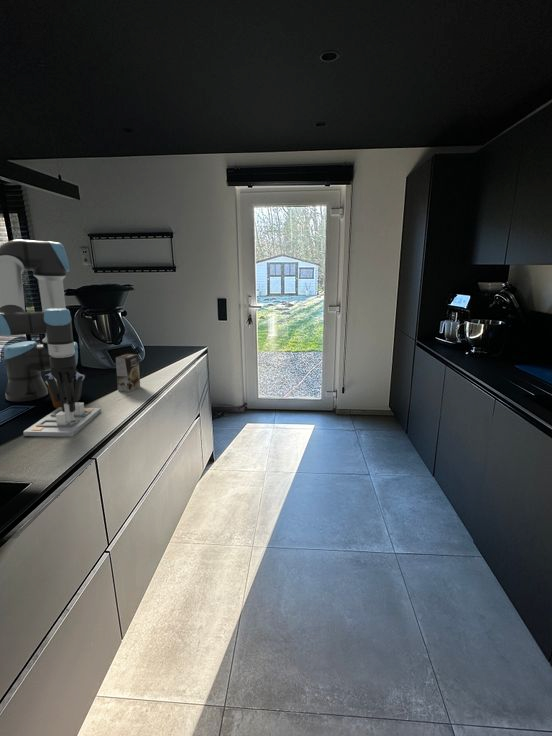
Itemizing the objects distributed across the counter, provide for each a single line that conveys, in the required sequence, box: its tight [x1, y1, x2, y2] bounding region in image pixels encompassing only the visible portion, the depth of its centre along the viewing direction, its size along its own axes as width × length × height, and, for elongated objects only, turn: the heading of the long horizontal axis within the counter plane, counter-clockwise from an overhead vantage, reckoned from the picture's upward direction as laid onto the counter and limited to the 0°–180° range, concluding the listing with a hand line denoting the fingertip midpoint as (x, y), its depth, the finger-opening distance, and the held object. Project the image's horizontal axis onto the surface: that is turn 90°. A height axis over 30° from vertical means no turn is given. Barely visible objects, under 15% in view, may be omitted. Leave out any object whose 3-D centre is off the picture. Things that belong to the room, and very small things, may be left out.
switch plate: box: [22, 407, 102, 438], centre depth 130 cm, size 16×22×2 cm
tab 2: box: [73, 401, 85, 415], centre depth 134 cm, size 3×3×4 cm
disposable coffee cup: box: [45, 378, 68, 409], centre depth 144 cm, size 10×10×12 cm
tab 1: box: [56, 411, 70, 425], centre depth 125 cm, size 3×3×4 cm
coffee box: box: [115, 353, 141, 393], centre depth 167 cm, size 9×6×16 cm
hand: (70, 420), depth 125 cm, fingers closed
